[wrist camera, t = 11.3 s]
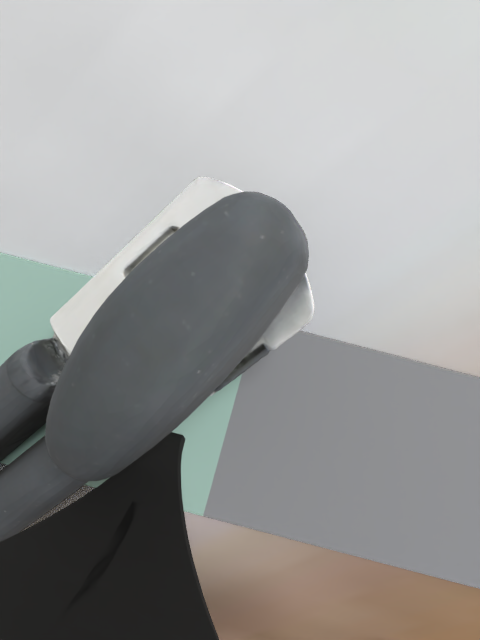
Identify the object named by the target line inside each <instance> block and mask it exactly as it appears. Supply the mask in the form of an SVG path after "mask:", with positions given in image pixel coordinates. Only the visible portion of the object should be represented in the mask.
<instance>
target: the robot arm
mask: <svg viewBox="0 0 480 640" xmlns="http://www.w3.org/2000/svg"><path fill="white" fill-rule="evenodd" d="M184 443H185V438H184V436H183V435H181V434H177V433H173V432H171V433H170V434H168V435H167V436H166V437H165V438H164V439H162V440H161V441H160V442H159V443H158V444H156V445H155V446H154V447H153V448H151V449H150V450H149V451H147V452H146V453H145V454H143V455H142V456H141V457H139V458H138V459H137V460H136V461H134V462H133V463H131V464H130V465H129V466H127V467H126V468H125V469H123V470H122V471H121V472H119V473H118V474H116V475H114V476H112V477H110V478H109V479H107V480H106V481H105V482H103V483H102V484H101V485H99V486H98V487H96V488H95V489H94V490H92V491H91V492H89V493H88V494H86V495H85V496H83V497H82V498H80V499H79V500H77V501H75V502H74V503H72V504H71V505H69V506H67V507H66V508H64V509H62V510H60V511H59V512H57V513H55V514H54V515H52V516H50V517H48V518H47V519H45V520H43V521H41V522H39V523H37V524H36V525H34V526H32V527H30V528H28V529H26V530H24V531H22V532H20V533H18V534H15V535H13V536H11V537H9V538H7V539H5V540H3V541H1V542H0V640H219V638H218V635H217V633H216V630H215V627H214V625H213V622H212V620H211V617H210V614H209V611H208V608H207V605H206V602H205V599H204V596H203V593H202V590H201V586H200V583H199V579H198V576H197V572H196V569H195V565H194V562H193V558H192V554H191V549H190V545H189V540H188V535H187V530H186V524H185V517H184V510H183V501H182V489H181V458H182V451H183V447H184Z"/></svg>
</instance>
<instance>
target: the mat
mask: <svg viewBox="0 0 480 640" xmlns="http://www.w3.org/2000/svg"><path fill="white" fill-rule="evenodd" d="M92 278H93V277H92V276H88V275H85V274H81V273H77V272H73V271H69V270H65V269H62V268H58V267H54V266H50V265H46V264H42V263H38V262H35V261H31V260H27V259H23V258H19V257H15V256H12V255H8V254H4V253H0V366H1V365H2V364H3V363H4V362H5V361H6V360H7V359H8V358H9V357H10V356H11V355H12V354H13V353H14V352H16V351H17V350H19V349H20V348H22V347H23V346H25V345H27V344H29V343H31V342H33V341H36V340H42V339H48V338H53V335H54V331H53V329H52V326H51V324H50V318H51V317H52V316H53V315H54V314H55V313H56V312H57V311H58V310H59V309H60V308H61V307H62V306H63V305H65V304H66V303H67V302H68V301H69V300H70V299H71V298H72V297H73V296H74V295H75V294H76V293H77V292H78V291H79V290H80V289H81V288H82V287H83V286H84V285H85V284H87V283H88V282H89V281H90V280H91V279H92ZM45 430H46V424H45V425H43V426H42V427H41V428H40V429H38V430H37V431H36V432H35V433H34V434H33V435H31V436H30V437H29V438H28V439H27V440H25V441H24V442H23V443H22V444H21V445H20V446H19V447H17V448H16V449H15V450H14V451H13V452H11V453H10V454H9V455H8V456H7V457H6V458H4V459H3V460H2V461H1V462H0V463H2V464H6V465H9V464H10V463H11V462H12V461H14V460H15V459H16V458H17V457H18V456H20V455H21V454H22V453H23V452H25V451H26V450H27V449H28V448H30V447H31V446H32V445H33V444H35V443H36V442H37V441H38V440H40V439H41V438H42V437H43V436H45ZM172 432H173V433H177V434H181V435H183V436H184V438H185V443H184V447H183V451H182V458H181V489H182V501H183V510H184V511H185V512H189V513H193V514H197V515H201V516H204V517H208V518H212V519H216V520H220V521H224V522H227V523H231V524H235V525H239V526H243V527H246V528H250V529H254V530H258V531H262V532H266V533H269V534H273V535H277V536H281V537H285V538H288V539H292V540H296V541H300V542H304V543H307V544H311V545H315V546H319V547H323V548H327V549H330V550H334V551H338V552H342V553H346V554H349V555H353V556H357V557H361V558H365V559H369V560H372V561H376V562H380V563H384V564H388V565H391V566H395V567H399V568H403V569H407V570H410V571H414V572H418V573H422V574H426V575H430V576H433V577H437V578H441V579H445V580H449V581H452V582H456V583H460V584H464V585H468V586H472V587H475V588H479V589H480V377H476V376H472V375H469V374H465V373H461V372H457V371H453V370H449V369H446V368H442V367H438V366H434V365H430V364H426V363H423V362H419V361H415V360H411V359H407V358H403V357H399V356H396V355H392V354H388V353H384V352H380V351H376V350H373V349H369V348H365V347H361V346H357V345H353V344H350V343H346V342H342V341H338V340H334V339H330V338H327V337H323V336H319V335H315V334H311V333H307V332H303V331H299V332H298V333H296V334H295V335H293V336H292V337H291V338H289V339H288V340H287V341H285V342H284V343H283V344H281V345H280V346H279V347H278V348H277V349H275V350H270V352H269V353H268V355H266V356H265V357H263V358H261V359H260V360H259V361H258V362H257V363H255V364H254V365H252V366H251V367H250V368H249V369H247V370H246V371H245V372H244V373H242V374H241V375H240V376H238V377H237V378H236V379H234V380H233V381H231V382H230V383H229V384H227V385H226V386H225V387H223V388H222V389H221V390H220V391H217V392H216V393H214V394H213V395H212V396H209V397H208V398H207V399H206V400H205V401H204V402H203V403H202V404H201V405H200V406H199V407H198V408H197V409H196V410H195V411H194V412H193V413H192V414H191V415H190V416H189V417H188V418H187V419H185V420H184V421H183V422H182V423H181V424H180V425H179V426H178V427H177V428H176V429H174V430H173V431H172ZM109 478H110V477H109ZM109 478H107V479H109ZM107 479H103V480H99V481H89V482H87V483H86V484H85V485H86V486H90V487H94V488H96V487H98V486H99V485H101V484H102V483H103V482H105V481H106V480H107Z"/></svg>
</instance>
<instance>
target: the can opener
mask: <svg viewBox="0 0 480 640" xmlns="http://www.w3.org/2000/svg"><path fill="white" fill-rule="evenodd" d="M308 258H309V251H308V242H307V239H306V236H305V233H304V231H303V229H302V227H301V226H300V225H299V223H298V222H297V220H296V219H295V217H294V216H293V214H292V213H291V211H290V210H289V209H288V208H287V207H286V206H285V205H284V204H282V203H281V202H279V201H277V200H276V199H274V198H272V197H270V196H267V195H265V194H262V193H259V192H243V191H241V190H239V189H237V188H235V187H234V186H232V185H230V184H227V183H224V182H222V181H219V180H216V179H212V178H208V177H198V178H197V179H195V180H194V181H193V182H192V183H191V184H190V185H189V186H188V187H187V188H186V189H185V190H184V191H182V192H181V193H180V194H179V195H178V196H177V197H176V198H175V199H174V200H173V201H172V202H171V203H170V204H169V205H168V206H167V207H165V208H164V209H163V210H162V211H161V212H160V213H159V214H158V215H157V216H156V217H155V218H154V219H153V220H152V221H151V222H150V223H149V224H148V225H147V226H146V227H145V228H144V229H143V230H142V231H141V232H140V233H139V234H138V235H137V236H135V237H134V238H133V239H132V240H131V241H130V242H129V243H128V244H127V245H126V246H125V247H124V248H123V249H122V250H121V251H120V252H119V253H118V254H117V255H116V256H115V257H114V258H113V259H112V260H111V261H110V262H108V263H107V264H106V265H105V266H104V267H103V268H102V269H101V270H100V271H99V272H98V273H97V274H96V275H95V276H94V277H93V278H92V279H91V280H90V281H89V282H88V283H87V284H85V285H84V286H83V287H82V288H81V289H80V290H79V291H78V292H77V293H76V294H75V295H74V296H73V297H72V298H71V299H70V300H69V301H68V302H67V303H66V304H65V305H63V306H62V307H61V308H60V309H59V310H58V311H57V312H56V313H55V314H54V315H53V316H52V317H51V318H50V324H51V326H52V329H53V331H54V335H53V338H48V339H42V340H36V341H33V342H31V343H29V344H27V345H25V346H23V347H22V348H20V349H19V350H17V351H16V352H14V353H13V354H12V355H11V356H10V357H9V358H8V359H7V360H6V361H5V362H4V363H3V364H2V365H1V366H0V462H1V461H2V460H3V459H4V458H6V457H7V456H8V455H9V454H10V453H11V452H13V451H14V450H15V449H16V448H17V447H19V446H20V445H21V444H22V443H23V442H24V441H25V440H27V439H28V438H29V437H30V436H31V435H33V434H34V433H35V432H36V431H37V430H38V429H40V428H41V427H42V426H43V425H45V424H46V430H45V436H43V437H42V438H41V439H40V440H38V441H37V442H36V443H35V444H33V445H32V446H31V447H30V448H28V449H27V450H26V451H25V452H23V453H22V454H21V455H20V456H18V457H17V458H16V459H15V460H14V461H12V462H11V463H10V464H9V465H7V466H6V467H5V468H4V469H3V470H1V471H0V542H1V541H3V540H5V539H7V538H9V537H11V536H13V535H15V534H18V533H20V532H21V531H22V530H23V529H25V528H26V527H28V526H29V525H30V524H32V523H33V522H35V521H36V520H37V519H39V518H40V517H41V516H43V515H44V514H46V513H47V512H48V511H50V510H51V509H52V508H54V507H55V506H57V505H58V504H59V503H61V502H62V501H63V500H65V499H66V498H67V497H69V496H70V495H71V494H73V493H74V492H75V491H77V490H78V489H79V488H81V487H82V486H83V485H85V484H86V483H87V482H89V481H99V480H103V479H107V478H109V477H112V476H114V475H116V474H118V473H119V472H121V471H122V470H123V469H125V468H126V467H127V466H129V465H130V464H131V463H133V462H134V461H136V460H137V459H138V458H139V457H141V456H142V455H143V454H145V453H146V452H147V451H149V450H150V449H151V448H153V447H154V446H155V445H156V444H158V443H159V442H160V441H161V440H162V439H164V438H165V437H166V436H167V435H168V434H170V433H171V432H172V431H173V430H174V429H176V428H177V427H178V426H179V425H180V424H181V423H182V422H183V421H184V420H185V419H187V418H188V417H189V416H190V415H191V414H192V413H193V412H194V411H195V410H196V409H197V408H198V407H199V406H200V405H201V404H202V403H203V402H204V401H205V400H206V399H207V398H208V397H209V396H212V395H213V394H214V393H216V392H217V391H220V390H221V389H222V388H223V387H225V386H226V385H227V384H229V383H230V382H231V381H233V380H234V379H236V378H237V377H238V376H240V375H241V374H242V373H244V372H245V371H246V370H247V369H249V368H250V367H251V366H252V365H254V364H255V363H257V362H258V361H259V360H260V359H261V358H263V357H265V356H266V355H268V353H269V352H270V350H275V349H277V348H278V347H279V346H280V345H281V344H283V343H284V342H285V341H287V340H288V339H289V338H291V337H292V336H293V335H295V334H296V333H298V332H299V331H300V330H301V329H303V328H304V327H305V326H306V325H307V324H308V323H309V322H310V321H311V319H312V317H313V315H314V301H313V295H312V291H311V287H310V284H309V280H308V277H307V274H306V271H307V266H308Z"/></svg>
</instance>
